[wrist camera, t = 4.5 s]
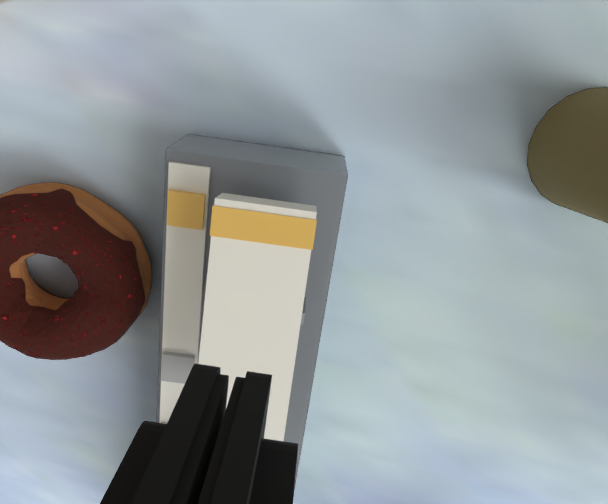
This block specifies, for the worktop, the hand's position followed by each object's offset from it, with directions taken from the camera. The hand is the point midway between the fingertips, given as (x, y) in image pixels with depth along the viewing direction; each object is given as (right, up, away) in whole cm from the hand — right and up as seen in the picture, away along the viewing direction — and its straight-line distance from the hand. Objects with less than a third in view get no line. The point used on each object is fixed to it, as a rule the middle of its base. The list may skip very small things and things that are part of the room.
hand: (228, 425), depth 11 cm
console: (-2, -3, +20) cm, 21 cm away
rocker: (-1, 0, +11) cm, 11 cm away
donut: (-12, +3, +19) cm, 22 cm away
